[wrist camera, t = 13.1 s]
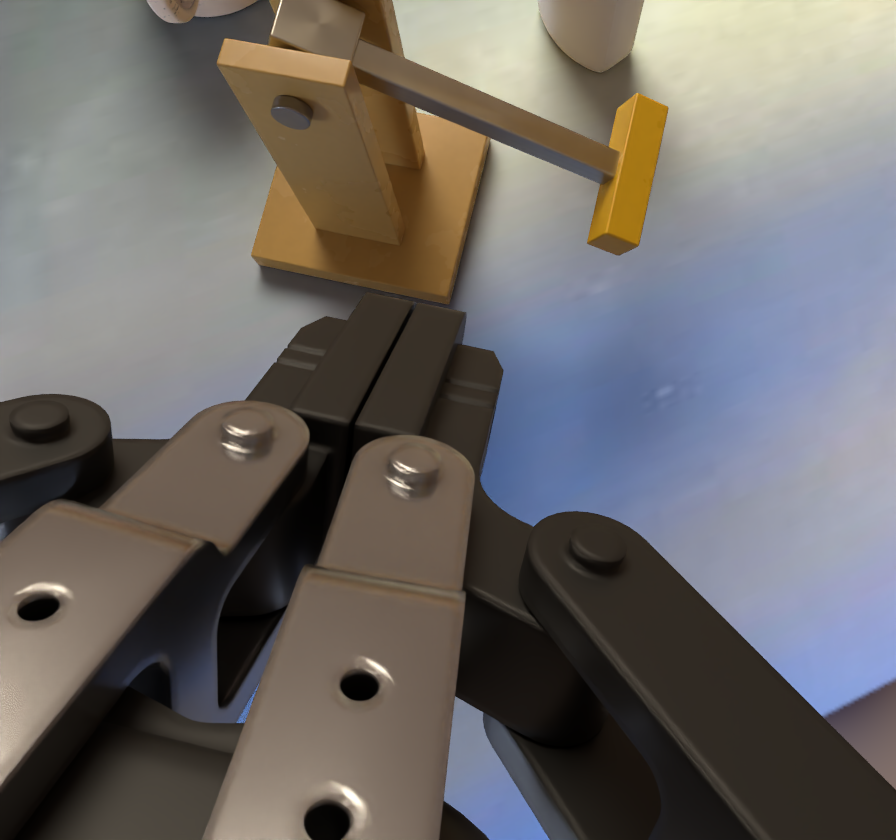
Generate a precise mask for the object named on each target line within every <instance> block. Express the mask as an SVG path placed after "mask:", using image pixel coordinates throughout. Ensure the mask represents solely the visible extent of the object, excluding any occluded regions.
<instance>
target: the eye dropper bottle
mask: <svg viewBox="0 0 896 840" xmlns="http://www.w3.org/2000/svg"><path fill="white" fill-rule="evenodd" d="M643 3H644V0H538V7H539V11H540V14H541V17H542V20H543V22H544V25H545V27H546V29H547V31H548V33H549V34H550V36H551V37H552V39H553V40H554V41H555V43H556V44H557V45H558V46H559V47H560V49H561V50H562V51H563V52H565V53H566V54H567V55H568V56H569V57H570V58H572V59H573V60H574V61H576V62H577V63H579V64H581V65H582V66H584V67H586V68H588V69H590V70H592V71H595V72H603V71H606V70H608V69H609V68H611V67H612V66H614V65H615V64H617V63H618V62H619V61H621V60H622V59H624V58H625V57H626V56H627V55H629V53H630V52H631V51H632V48H633V45H634V41H635V36H636V32H637V28H638V24H639V20H640V15H641V11H642V7H643Z"/></svg>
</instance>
